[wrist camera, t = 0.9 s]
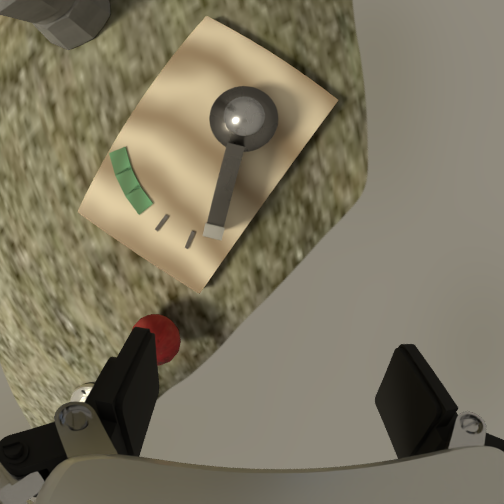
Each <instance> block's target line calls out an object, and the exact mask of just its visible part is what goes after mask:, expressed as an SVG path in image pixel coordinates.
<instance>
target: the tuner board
mask: <svg viewBox="0 0 504 504" xmlns="http://www.w3.org/2000/svg"><path fill="white" fill-rule="evenodd" d="M238 86H250V87H254V88H257V89H259V90H261V91H263V92H265V93H266V94H267V95H268V96H269V97H270V98H271V99H272V100H273V102H274V104H275V106H276V108H277V111H278V126H277V129H276V132H275V134H274V136H273V137H272V138H271V140H270V141H269V142H268V143H266V144H265V145H264V146H262V147H261V148H259V149H257V150H254V151H250V152H243V156H242V160H241V163H240V167H239V171H238V175H237V178H236V182H235V186H234V190H233V193H232V197H231V201H230V205H229V209H228V213H227V217H226V221H225V224H224V227H225V229H224V233H223V237H222V241H221V240H216V239H212V238H208V237H204V236H203V231H204V227H205V223H207V220H208V216H209V212H210V208H211V204H212V200H213V196H214V192H215V188H216V184H217V180H218V176H219V172H220V168H221V164H222V161H223V157H224V153H225V149H226V147H225V146H223V145H222V144H221V143H220V142H219V141H218V140H217V139H216V138H215V136H214V134H213V133H212V130H211V127H210V122H209V116H210V110H211V108H212V105H213V103H214V102H215V100H216V99H217V98H218V97H219V96H220V95H221V94H222V93H223V92H225V91H227V90H229V89H231V88H234V87H238ZM337 101H338V99H336V98H335V97H334V96H332V95H331V94H330V93H329V92H327V91H326V90H325V89H323V88H322V87H321V86H319V85H318V84H316V83H315V82H314V81H312V80H311V79H310V78H308V77H307V76H305V75H304V74H302V73H301V72H300V71H298V70H297V69H295V68H294V67H292V66H291V65H289V64H288V63H286V62H285V61H283V60H282V59H280V58H279V57H277V56H276V55H274V54H273V53H271V52H269V51H268V50H266V49H265V48H263V47H261V46H260V45H258V44H256V43H255V42H253V41H251V40H250V39H248V38H246V37H244V36H243V35H241V34H239V33H237V32H236V31H234V30H232V29H230V28H228V27H227V26H225V25H223V24H221V23H219V22H217V21H215V20H213V19H211V18H209V17H208V16H206V17H205V18H204V19H203V20H202V21H201V23H200V24H199V25H198V26H197V27H196V28H195V29H194V31H193V32H192V33H191V34H190V35H189V37H188V38H187V39H186V40H185V41H184V43H183V44H182V45H181V46H180V48H179V49H178V50H177V51H176V53H175V54H174V55H173V56H172V58H171V59H170V60H169V62H168V63H167V64H166V66H165V67H164V68H163V69H162V71H161V72H160V74H159V75H158V76H157V78H156V79H155V80H154V82H153V83H152V85H151V86H150V87H149V89H148V90H147V92H146V93H145V95H144V96H143V98H142V99H141V101H140V102H139V104H138V105H137V107H136V108H135V110H134V111H133V113H132V114H131V116H130V117H129V119H128V120H127V122H126V124H125V125H124V127H123V128H122V130H121V132H120V133H119V135H118V137H117V138H116V140H115V142H114V143H113V145H112V147H111V149H110V150H109V152H108V154H107V156H106V157H105V159H104V161H103V163H102V165H101V166H100V168H99V170H98V172H97V174H96V176H95V178H94V180H93V181H92V183H91V185H90V187H89V189H88V191H87V193H86V195H85V197H84V199H83V201H82V204H81V206H80V208H79V210H78V213H80V214H81V215H82V216H84V217H85V218H86V219H88V220H89V221H91V222H92V223H93V224H95V225H96V226H98V227H99V228H101V229H102V230H103V231H105V232H106V233H108V234H109V235H111V236H112V237H113V238H115V239H116V240H118V241H119V242H121V243H122V244H124V245H125V246H127V247H128V248H130V249H131V250H133V251H134V252H136V253H137V254H138V255H140V256H141V257H143V258H144V259H146V260H148V261H149V262H151V263H152V264H154V265H155V266H157V267H158V268H160V269H161V270H163V271H164V272H166V273H167V274H169V275H170V276H172V277H174V278H175V279H177V280H178V281H180V282H181V283H183V284H185V285H186V286H188V287H189V288H191V289H193V290H194V291H196V292H197V293H199V294H200V292H201V291H202V290H203V288H204V287H205V285H206V284H207V282H208V281H209V280H210V278H211V277H212V275H213V274H214V272H215V271H216V269H217V268H218V267H219V265H220V264H221V262H222V261H223V259H224V258H225V257H226V255H227V254H228V252H229V251H230V249H231V248H232V247H233V245H234V244H235V242H236V241H237V240H238V238H239V237H240V235H241V234H242V232H243V231H244V230H245V228H246V227H247V225H248V224H249V223H250V221H251V220H252V218H253V217H254V216H255V214H256V213H257V211H258V210H259V209H260V207H261V206H262V204H263V203H264V202H265V200H266V199H267V197H268V196H269V195H270V193H271V192H272V190H273V189H274V188H275V186H276V185H277V183H278V182H279V181H280V179H281V178H282V177H283V175H284V174H285V172H286V171H287V170H288V168H289V167H290V165H291V164H292V163H293V161H294V160H295V159H296V157H297V156H298V154H299V153H300V152H301V150H302V149H303V148H304V146H305V145H306V143H307V142H308V141H309V139H310V138H311V137H312V135H313V134H314V133H315V131H316V130H317V128H318V127H319V126H320V124H321V123H322V122H323V120H324V119H325V118H326V116H327V115H328V114H329V112H330V111H331V110H332V108H333V107H334V105H335V104H336V103H337Z"/></svg>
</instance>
